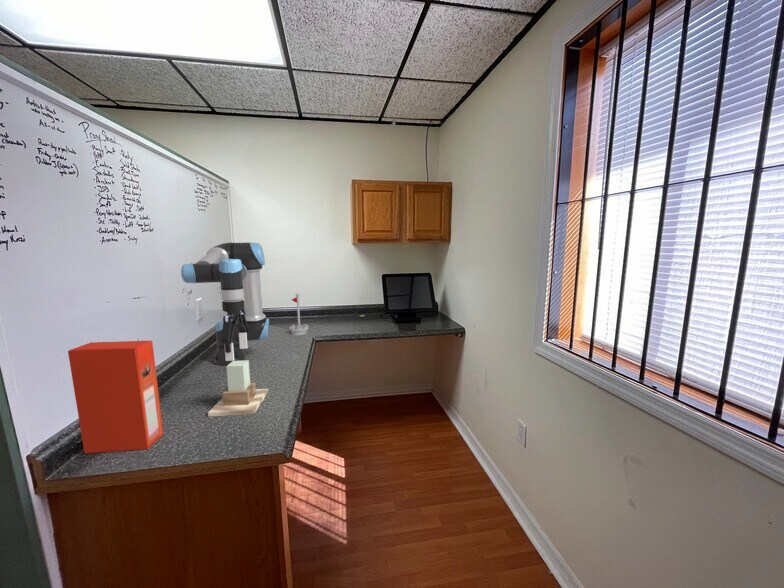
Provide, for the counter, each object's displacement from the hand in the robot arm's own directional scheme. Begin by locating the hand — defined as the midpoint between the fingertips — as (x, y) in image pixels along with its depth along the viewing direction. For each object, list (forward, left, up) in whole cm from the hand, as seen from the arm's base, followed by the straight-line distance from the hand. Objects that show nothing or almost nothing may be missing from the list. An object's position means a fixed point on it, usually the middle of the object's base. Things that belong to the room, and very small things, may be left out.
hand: (237, 354), depth 118 cm
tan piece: (0, 0, -20) cm, 20 cm away
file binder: (+23, -26, -20) cm, 40 cm away
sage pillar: (0, 0, -14) cm, 14 cm away
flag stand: (-106, +3, -20) cm, 108 cm away
